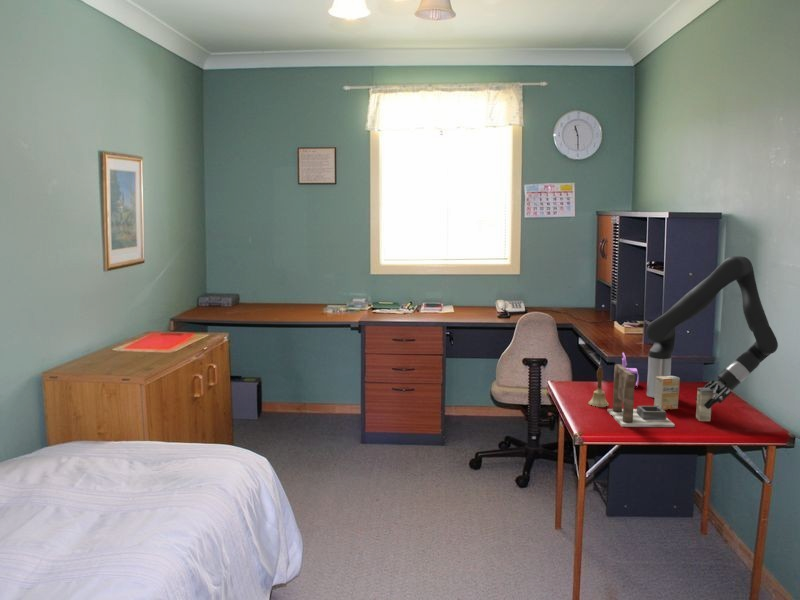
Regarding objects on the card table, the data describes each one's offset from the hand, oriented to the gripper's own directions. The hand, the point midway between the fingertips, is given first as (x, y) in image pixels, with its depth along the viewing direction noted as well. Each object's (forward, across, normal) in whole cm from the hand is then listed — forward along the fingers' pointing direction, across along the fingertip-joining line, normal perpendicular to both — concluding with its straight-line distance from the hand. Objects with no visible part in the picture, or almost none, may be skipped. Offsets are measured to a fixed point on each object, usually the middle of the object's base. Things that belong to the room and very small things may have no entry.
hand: (701, 404), depth 279 cm
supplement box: (+10, -15, -1) cm, 18 cm away
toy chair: (+13, -53, -4) cm, 55 cm away
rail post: (+4, 0, +5) cm, 6 cm away
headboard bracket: (+21, 0, -12) cm, 24 cm away
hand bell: (+28, -20, -20) cm, 40 cm away
